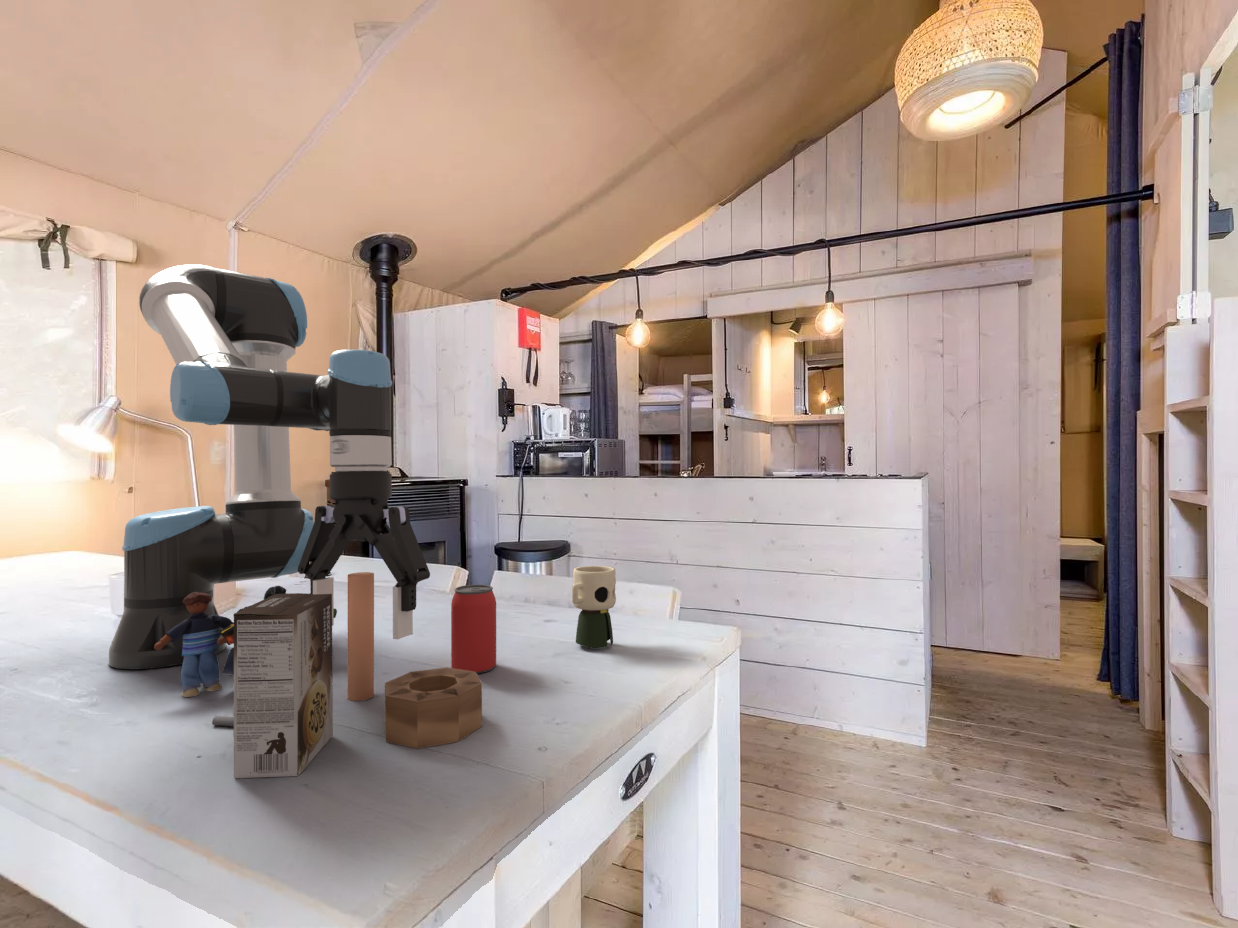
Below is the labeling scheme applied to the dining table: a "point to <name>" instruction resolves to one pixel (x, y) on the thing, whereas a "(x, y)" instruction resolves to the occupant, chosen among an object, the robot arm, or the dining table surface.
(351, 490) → the robot arm
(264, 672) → the coffee box
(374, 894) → the dining table surface
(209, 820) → the dining table surface
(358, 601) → the peach rounded rod
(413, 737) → the bead
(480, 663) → the beer can
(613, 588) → the character mug
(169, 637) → the doll family
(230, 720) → the grey thin rod
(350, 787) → the dining table surface
